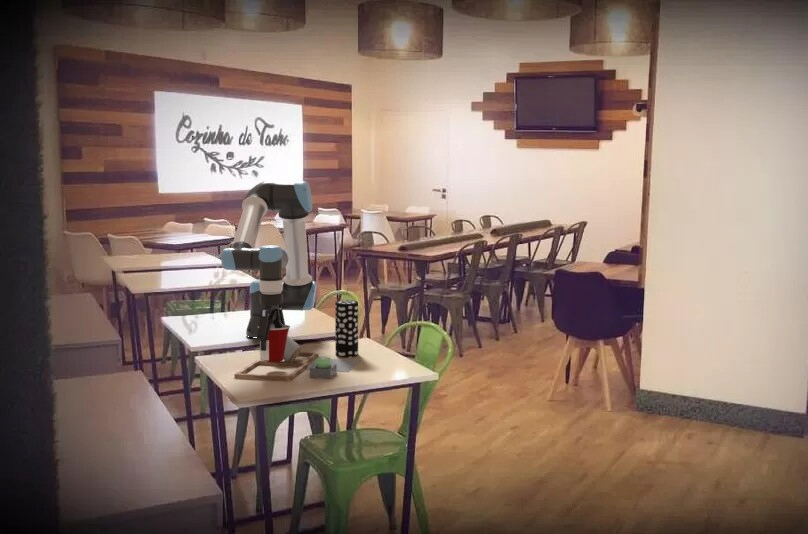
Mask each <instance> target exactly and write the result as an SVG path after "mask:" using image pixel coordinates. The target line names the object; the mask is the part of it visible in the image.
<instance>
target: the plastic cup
mask: <svg viewBox="0 0 808 534" xmlns="http://www.w3.org/2000/svg"><path fill="white" fill-rule="evenodd" d="M258 328H259V326H258ZM290 328H291V326H290V325H288V324H285V325H283V324H282V328H275V326H274V325H271V327H270V331H269V335H268V339H267V340H269V360H266V361H267V362H284V360H283V358H284V352H285V347H286V340H287V336H289V331H290Z"/></svg>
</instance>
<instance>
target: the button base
mask: <svg viewBox="0 0 808 534" xmlns="http://www.w3.org/2000/svg"><path fill="white" fill-rule="evenodd" d="M336 375H337V365H336V364H331V367H328V368H317V367H316V364H314V365H313V366H312V367H311V368H310V370H309V378H310V379H322V380H323V379H324V380H331V379H332V378H333V377H335V376H336Z"/></svg>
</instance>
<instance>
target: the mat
mask: <svg viewBox="0 0 808 534" xmlns="http://www.w3.org/2000/svg"><path fill="white" fill-rule="evenodd" d="M360 362H361V360H358V359H357V360H356V359H344V358H343V359H342V358H341V359H340V358H338V359H337V358H331V364H336V365H337V372H338V373H340V372H341V373H350V372H351V370H353V369H354V367H355V366H357V365H358V364H359V363H360ZM314 364H316V359H314V360H312V361H311V362H310V363H309V364H308V367H307V368H305V369H304V370H303V371H305V370H306V371H310V368H311V367H312V366H313V365H314Z"/></svg>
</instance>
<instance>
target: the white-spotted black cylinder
mask: <svg viewBox="0 0 808 534" xmlns="http://www.w3.org/2000/svg"><path fill="white" fill-rule="evenodd" d="M334 304H335V305H334V308H335V309H334V310H335V311H334V312H335V314H334V315H335V316H334V317H335V319H334V320H335V321H334V322H335V324H334V325H335V327H334V328H335V336H334V337H335V341H334V342H335V344H334V345H335V356H336V357H337V358H341V359H342V358H343V359H346V358H347V359H349V358H356V357H358V356H359V301H356V300H352V299H350V300H349V299H345V300H343V299H342V300H337V301H335V303H334Z"/></svg>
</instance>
